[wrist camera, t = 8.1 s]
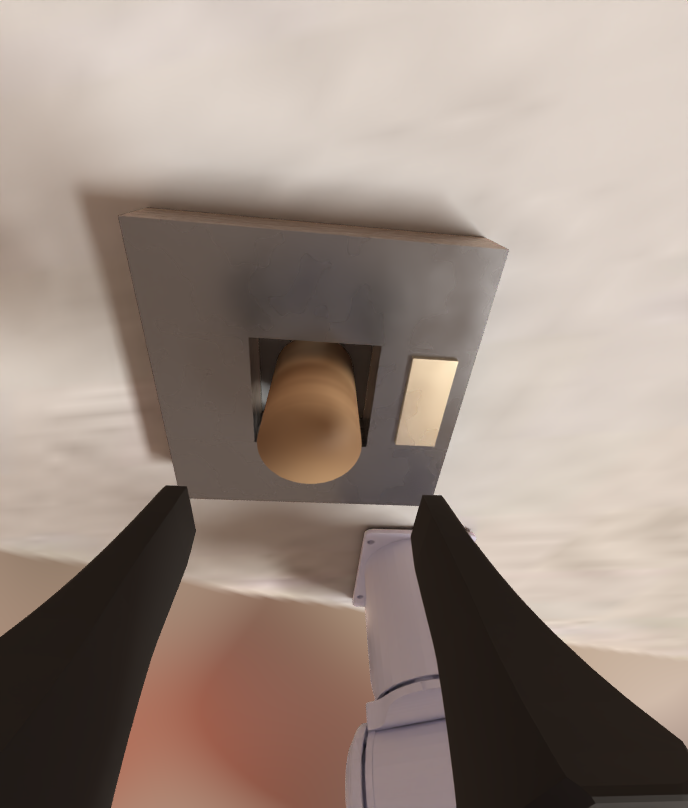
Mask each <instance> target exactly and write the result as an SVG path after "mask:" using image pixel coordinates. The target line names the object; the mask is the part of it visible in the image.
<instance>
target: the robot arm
mask: <svg viewBox="0 0 688 808" xmlns="http://www.w3.org/2000/svg"><path fill="white" fill-rule="evenodd" d="M195 532H196V529H195V524H194V519H193V514H192V509H191V504H190V499H189V494H188V489H187V486H165V487H164V488H163V489H162V490H161V491H160V492H159V493H158V494H157V495H156V496H155V497H154V498H153V499H152V500H151V501H150V503H149V504H148V505H147V506H146V507H145V508H144V509H143V510H142V511H141V512H140V513H139V514H138V515H137V516H136V517H135V518H134V520H133V521H132V522H131V523H130V524H129V525H128V526H127V527H126V528H125V529H124V530H123V531H122V532H121V533H120V534H119V535H118V536H117V537H116V538H115V539H114V540H113V541H112V542H111V543H110V544H109V545H108V546H107V547H106V548H105V549H104V550H103V551H102V552H101V553H100V554H99V555H97V556H96V557H95V558H94V559H93V560H92V561H91V562H90V563H89V564H88V565H87V566H86V567H85V568H83V569H82V571H80V572H79V573H78V574H77V575H76V576H75V577H74V578H73V579H71V580H70V581H69V582H68V583H67V584H66V585H65V586H63V587H62V588H61V589H60V590H59V591H58V592H56V593H55V594H54V595H53V596H52V597H51V598H49V599H48V600H47V601H46V602H45V603H43V604H42V605H41V606H40V607H38V608H37V609H36V610H35V611H33V612H32V613H31V614H30V615H28V616H27V617H26V618H24V619H23V620H22V621H21V622H19V623H18V624H17V625H15V626H14V627H13V628H12V629H10V630H9V631H8V632H6V633H5V634H4V635H2V636H1V637H0V808H111V805H112V801H113V797H114V792H115V788H116V785H117V781H118V777H119V773H120V769H121V765H122V761H123V757H124V753H125V750H126V746H127V742H128V738H129V734H130V731H131V727H132V723H133V720H134V716H135V713H136V709H137V705H138V702H139V698H140V695H141V691H142V688H143V684H144V681H145V678H146V674H147V671H148V668H149V664H150V661H151V657H152V655H153V652H154V649H155V646H156V643H157V640H158V638H159V636H160V633H161V630H162V628H163V625H164V623H165V620H166V618H167V615H168V612H169V610H170V608H171V605H172V602H173V599H174V597H175V595H176V592H177V590H178V587H179V584H180V582H181V579H182V577H183V574H184V571H185V569H186V566H187V563H188V559H189V556H190V552H191V548H192V544H193V540H194V536H195ZM475 541H476V536H475V534H474V533H473V532H468V531H466V529H465V528H464V527H463V525H462V524H461V522H460V521H459V519H458V518H457V517H456V515H455V514H454V512H453V511H452V509H451V508H450V506H449V505H448V504H447V502H446V501H445V499H444V498H443V497H442V496H441V495H422V498H421V502H420V505H419V509H418V512H417V516H416V519H415V523H414V526H413V530H397V529H368V530H366V531H365V533H364V537H363V543H362V549H361V554H360V560H359V565H358V571H357V576H356V582H355V588H354V593H353V599H352V602H353V605H354V606H356V607H365V615H366V627H367V640H368V652H369V664H370V678H371V684H372V690H373V693H374V696H375V701H373V702H369V703H367V704H366V713H367V723H364V724H362V725H360V726H359V727H358V729H357V732H356V733H355V736H354V739H353V742H352V744H351V746H350V749H349V753H348V758H347V766H346V783H345V784H346V786H345V790H346V808H688V749H687V748H686V746H685V745H684V743H683V741H681V740H680V739H679V738H677V737H676V736H675V735H674V734H672V733H671V732H670V731H668V730H667V729H666V728H665V727H663V726H662V725H661V724H659V723H658V722H657V721H656V720H654V719H653V718H652V717H651V716H649V715H648V714H647V713H645V712H644V711H643V710H641V709H640V708H639V707H638V706H636V705H635V704H634V703H633V702H631V701H630V700H629V699H627V698H626V697H625V696H624V695H623V694H622V693H620V692H619V691H618V690H617V689H616V688H614V687H613V686H612V685H611V684H610V683H608V682H607V681H606V680H605V679H604V678H603V677H601V676H600V675H599V674H598V673H597V672H596V671H594V670H593V669H592V668H591V667H590V666H589V665H588V664H587V663H586V662H584V661H583V659H581V658H580V657H579V656H578V655H577V654H576V653H575V652H574V651H573V650H572V649H571V648H570V647H568V646H567V645H566V644H565V643H564V642H563V641H562V640H561V639H560V638H559V637H558V636H557V635H556V634H555V633H554V632H553V631H552V630H551V629H550V628H549V627H548V626H547V625H546V624H545V623H544V622H543V621H542V620H541V619H540V618H539V617H538V616H537V615H536V614H535V613H534V612H533V611H532V610H531V609H530V608H529V607H528V606H527V605H526V604H525V602H524V601H523V600H522V599H521V598H520V597H519V596H518V595H517V594H516V592H515V591H514V590H513V589H512V588H511V587H510V585H509V584H508V583H507V582H506V581H505V580H504V578H503V577H502V576H501V575H500V574H499V572H498V571H497V570H496V569H495V567H494V566H493V565H492V564H491V562H490V561H489V560H488V559H487V557H486V556H485V555H484V553H483V552H482V551H481V550H480V548H479V547H478V546H477V544H476V543H475Z"/></svg>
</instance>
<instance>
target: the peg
mask: <svg viewBox="0 0 688 808" xmlns="http://www.w3.org/2000/svg"><path fill="white" fill-rule="evenodd" d="M361 447H362V443H361V433H360V424H359V415H358V406H357V397H356V388H355V380H354V371H353V364H352V360H351V358H350V356H349V354H348V353H347V351H346V350H345V349H344V348H343V347H342V346H341V345H340V344H339V343H330V342H314V341H299V340H294V341H292V342H290V343H289V344H288V345H287V346H285V347H284V349H283V350H282V351H281V353H280V354H279V356H278V359H277V362H276V366H275V370H274V374H273V378H272V382H271V386H270V390H269V394H268V398H267V401H266V405H265V409H264V413H263V417H262V421H261V425H260V429H259V433H258V437H257V448H258V452H259V455H260V457H261V459H262V461H263V462H264V463H265V465H266V466H267V467H268V468H269V469H270V470H271V471H273V472H274V473H275V474H277V475H279V476H280V477H282V478H284V479H287V480H290V481H293V482H297V483H304V484H317V483H324V482H328V481H331V480H334V479H336V478H338V477H340V476H342V475H344V474H345V473H347V472H348V471H349V470H350V469H351V468H352V467H353V466H354V465H355V463H356V462H357V460H358V458H359V456H360V452H361Z"/></svg>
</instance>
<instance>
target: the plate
mask: <svg viewBox="0 0 688 808" xmlns="http://www.w3.org/2000/svg"><path fill="white" fill-rule="evenodd" d="M118 218H119V222H120V227H121V231H122V236H123V241H124V245H125V250H126V254H127V259H128V263H129V268H130V272H131V277H132V281H133V286H134V290H135V295H136V299H137V304H138V308H139V313H140V317H141V322H142V326H143V331H144V335H145V340H146V344H147V349H148V353H149V358H150V363H151V367H152V372H153V376H154V381H155V385H156V390H157V394H158V399H159V403H160V408H161V412H162V417H163V421H164V426H165V430H166V435H167V439H168V444H169V448H170V453H171V457H172V462H173V466H174V471H175V475H176V480H177V485H178V486H187V489H188V494H189V498H195V499H225V500H256V501H286V502H316V503H346V504H377V505H407V506H419V505H420V502H421V498H422V495H433V494H434V491H435V488H436V484H437V481H438V478H439V475H440V472H441V468H442V465H443V462H444V459H445V455H446V452H447V449H448V446H449V442H450V439H451V436H452V433H453V430H454V426H455V423H456V420H457V417H458V413H459V410H460V407H461V404H462V400H463V397H464V394H465V391H466V388H467V384H468V381H469V378H470V375H471V371H472V368H473V365H474V362H475V358H476V355H477V352H478V349H479V345H480V342H481V339H482V336H483V333H484V329H485V326H486V323H487V320H488V316H489V313H490V310H491V307H492V303H493V300H494V297H495V294H496V291H497V287H498V284H499V281H500V278H501V274H502V271H503V268H504V265H505V261H506V258H507V255H508V252H509V250H508V249H507V248H505V247H503V246H501V245H499V244H497V243H495V242H493V241H491V240H489V239H487V238H483V237H472V236H461V235H450V234H439V233H427V232H416V231H405V230H394V229H383V228H372V227H360V226H349V225H338V224H327V223H316V222H304V221H293V220H282V219H271V218H260V217H248V216H237V215H226V214H215V213H204V212H193V211H181V210H170V209H159V208H148V207H147V208H144V209H140V210H137V211H133V212H129V213H126V214H122V215H119V216H118ZM259 338H268V339H284V340H299V341H314V342H330V343H345V344H360V345H373V347H372V354H371V362H370V369H369V376H368V383H367V390H366V398H365V405H364V412H363V418H359V424H360V433H361V443H362V447H361V452H360V456H359V458H358V460H357V462H356V463H355V465H354V466H353V467H352V468H351V469H350V470H349V471H348V472H347V473H345V474H344V475H342V476H340V477H338V478H336V479H334V480H331V481H328V482H324V483H317V484H304V483H297V482H293V481H290V480H287V479H284V478H282V477H280V476H279V475H277V474H275V473H274V472H273V471H271V470H270V469H269V468H268V467H267V466H266V465H265V463H264V462H263V461H262V459H261V457H260V455H259V452H258V448H257V437H258V433H259V429H260V425H261V421H262V417H263V413H262V401H261V377H260V354H259Z"/></svg>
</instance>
